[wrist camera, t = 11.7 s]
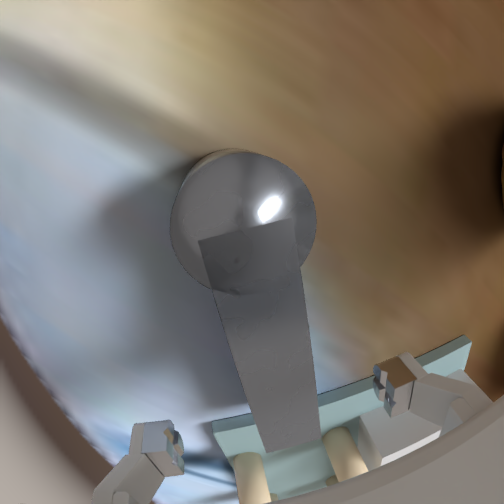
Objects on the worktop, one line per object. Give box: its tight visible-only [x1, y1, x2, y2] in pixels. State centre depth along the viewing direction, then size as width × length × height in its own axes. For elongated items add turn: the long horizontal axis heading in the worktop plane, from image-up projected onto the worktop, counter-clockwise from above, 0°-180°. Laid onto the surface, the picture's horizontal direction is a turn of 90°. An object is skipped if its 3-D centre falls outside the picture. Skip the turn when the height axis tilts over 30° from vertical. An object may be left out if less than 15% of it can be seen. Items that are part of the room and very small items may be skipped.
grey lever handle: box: [170, 149, 321, 453], centre depth 13 cm, size 14×5×4 cm, turn 12°
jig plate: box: [212, 335, 476, 504], centre depth 19 cm, size 14×19×6 cm
